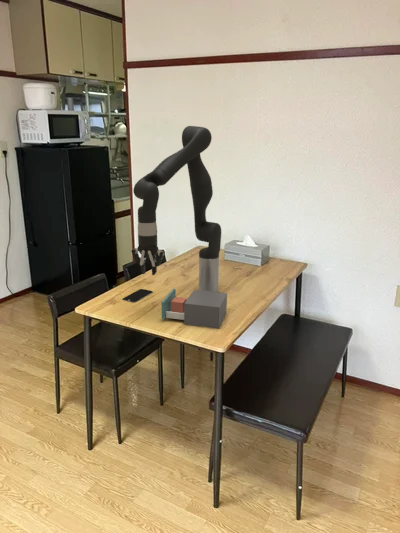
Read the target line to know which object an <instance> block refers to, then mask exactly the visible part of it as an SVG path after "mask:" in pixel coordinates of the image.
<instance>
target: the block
mask: <svg viewBox="0 0 400 533" xmlns="http://www.w3.org/2000/svg"><path fill="white" fill-rule="evenodd" d="M187 299H188V298H187V297H178V296H177V297H175V298H174V299H173V300H172V301H171V312H178V313H184V303H185V302H186V300H187Z"/></svg>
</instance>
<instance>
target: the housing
mask: <svg viewBox="0 0 400 533" xmlns="http://www.w3.org/2000/svg"><path fill="white" fill-rule="evenodd" d="M227 304H228V293H227V292H220V291H218V292H211V291H201V290H199V289H194V290H193V291H192V292H191V294H190V295H189V296H188V298H187V300H186V302H185V303H184V320H183V323H184V326H185V325H187V326H195V327H202V328H203V327H204V328H210V329H220V328H221V326H222V323H223V321H224V319H225V317H226V314H227V312H228V311H227V310H228V309H227V307H228V306H227Z"/></svg>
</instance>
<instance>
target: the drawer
mask: <svg viewBox="0 0 400 533" xmlns="http://www.w3.org/2000/svg"><path fill="white" fill-rule="evenodd" d="M176 290H177V289H176V288H172V289H171V291H170V292H168V294H167V295H166V296H165V297H164V299H162V301H161V302H160V303H161V304H160V305H161V307H160V308H161V309H160V310H161V320H165V319H173V320H181V321H184V313H178V312H171V301H172V300H173V299H174V298H175V297H176V296H177V294H176Z"/></svg>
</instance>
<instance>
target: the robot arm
mask: <svg viewBox="0 0 400 533" xmlns="http://www.w3.org/2000/svg"><path fill="white" fill-rule="evenodd" d="M212 136H213V135H212V133H211V131H210V129H208V128H207V127H205V126H197V125H187V126H185V127H184V129H183V130H182V132H181V143H182V148H181V149H179V150H177V151H175V153H173V154H170V155H168V157H166V158H164V159H163V160H162V161H161V162H160V163H159V164H158V165H157V166H155V167H154V169H153V170H152V171H151V172H149V173H147V174H146V175H144V176H143V177H141V178H140V179H139V180H138V181H137V182H135V184H134V187H133V194H134V197H135V198H137V199H140V200H142V206H140V207H138V208H137V240H138V241H137V242H138V243H137V244H138V246H137V247H136V248H135V247H134V248H133V249H131V253H132V256H133V260H134V263H135V264H138V265H140V266H139V267H140V273H141V275H145V274H146V264H145V263H146V259H147V258H148V259H149V260H150V262H151V275H152V276H155V275H156V274H157V272H158V271H157V270H158V268H157V266H160V265H161V263H162V261H163V259H164V256H165V253H166V252H165V250H161V249H159V247H158V226H157V208H158V203H159V200H160V199H159V198H160V190H159V188H158V187H161V186H164V185H166V184H167V183H168V182H169V181H170V180H172V178H173V177H174V176H175V175H176V174H177V173H178V172H179V171H180V170H181V169H182V168H184V167H185V165H187V171H188V177H189V185H190V186H189V187H190V194H191V198H192V204H193V205H192V206H193V213H194V214H193V215H194V217H193V218H194V219H193V220H194V233H195V237H196V239H197V240H198V241H200V242H204V243H208V245H207V247H204V248H201V249H200V250H199V251H198V290H201V291H211V292H219V276H220V273H219V271H220V269H219V268H220V252H221V245H222V243H221V242H222V227H221V224H219V223H218V222H212V221H207V216H206V213H207V208H208V206H209V204H210V203H211V201H212V200H211V199H212V198H213V194H214V191H213V190H214V189H213V183H212V178H211V176H210V173H209V172H208V170H207V167H206V166H205V164H204V162H203V159H202V157H201V153H203V152H204V151H205V150H207V149H208V148H209V146H210V145H211V142H212ZM139 254H140V255H141V256H139ZM156 255H158V258H157V256H156Z"/></svg>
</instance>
